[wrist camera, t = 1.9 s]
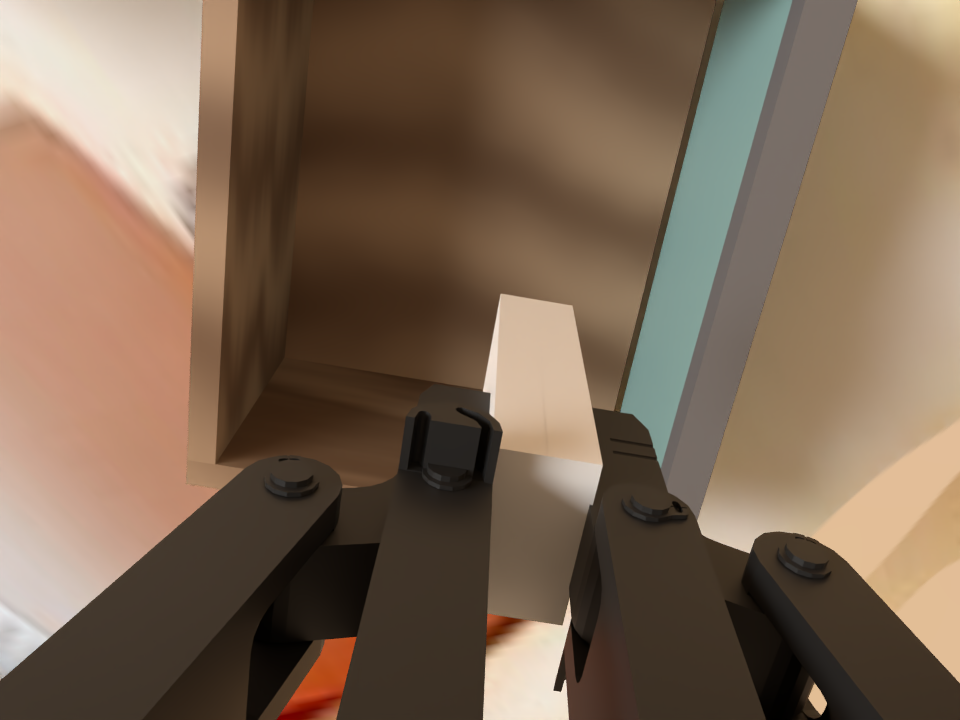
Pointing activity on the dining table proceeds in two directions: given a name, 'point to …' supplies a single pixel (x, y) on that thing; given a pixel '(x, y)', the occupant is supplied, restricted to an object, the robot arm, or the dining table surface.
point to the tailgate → (730, 224)
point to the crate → (416, 205)
